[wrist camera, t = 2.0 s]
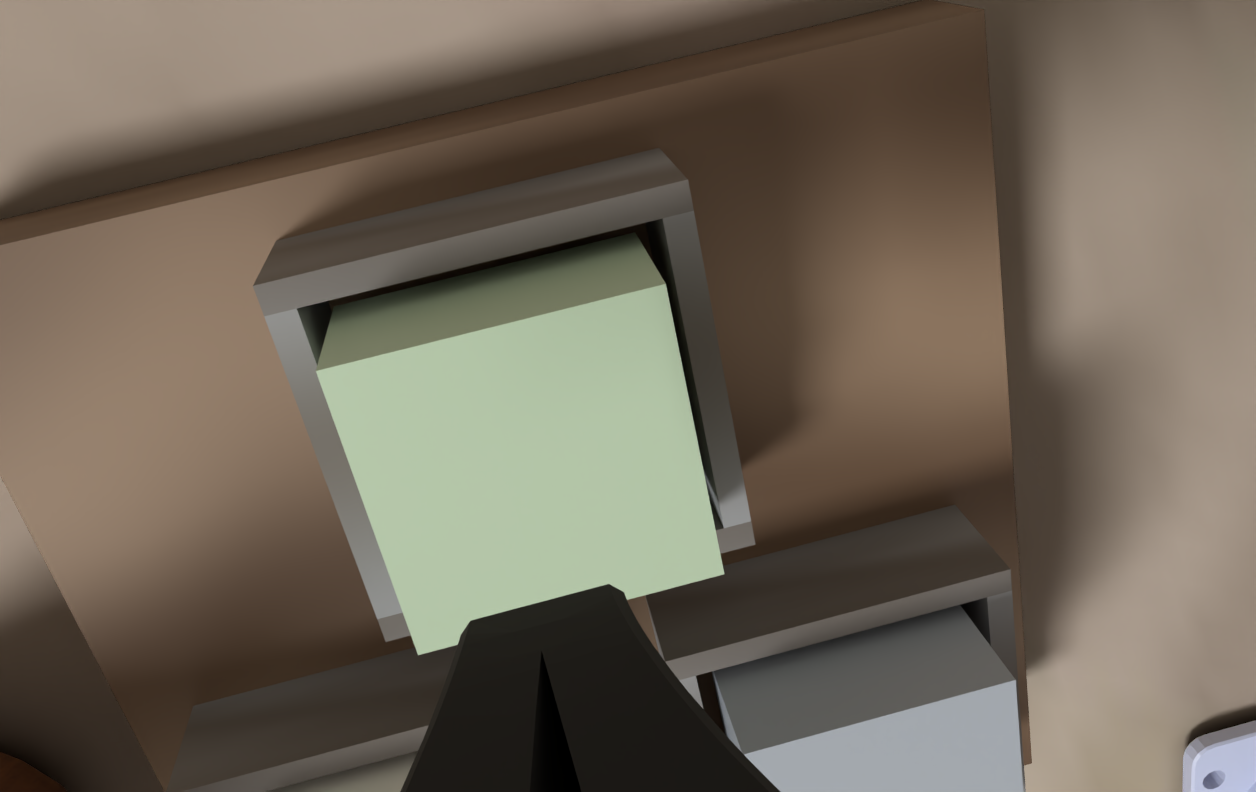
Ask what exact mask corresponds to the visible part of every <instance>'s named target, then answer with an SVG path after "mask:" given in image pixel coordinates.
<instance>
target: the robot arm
mask: <svg viewBox="0 0 1256 792" xmlns="http://www.w3.org/2000/svg"><path fill="white" fill-rule="evenodd" d="M400 792H780V791H779V790H778V789H777V788H776V787H775V786H774V785H773V784H772V783H771V782H770V781H769V780H768V779H767V778H766V777H765V776H764V775H763V774H762V773H761V772H760V771H759V770H758V769H757V768H756V767H755V766H754V765H753V764H752V763H751V762H750V761H749V759H748V758H747V757H746V756H745V755H744V754H743V753H742V752H741V751H740V750H739V749H738V748H737V747H736V746H735V745H734V743H733V742H732V741H731V740H730V739H729V738H728V737H727V736H726V735H725V734H724V733H723V731H722V730H721V729H720V728H719V727H718V726H717V724H716V723H715V722H714V721H713V720H712V719H711V717H710V716H709V715H708V714H707V713H706V712H705V711H704V709H703V708H702V707H701V706H700V705H699V704H698V702H697V701H696V700H695V699H694V698H693V697H692V695H691V694H690V693H689V692H688V691H687V690H686V688H685V687H684V686H683V685H682V683H681V682H680V681H679V679H678V678H677V677H676V676H675V674H674V673H673V672H672V671H671V669H670V668H669V666H668V665H667V664H666V662H665V661H664V660H663V658H662V657H661V655H660V654H659V653H658V651H657V650H656V649H655V647H654V646H653V644H652V643H651V641H650V640H649V638H648V637H647V635H646V634H645V632H644V631H643V629H642V627H641V626H640V624H639V622H638V621H637V619H636V617H635V615H634V613H633V612H632V610H631V608H630V606H629V604H628V601H627V599H626V596H625V593H624V592H623V591H621V590H619V589H617V588H616V587H614V586H612V585H610V584H607V585H603V586H599V587H595V588H591V589H588V590H584V591H580V592H576V593H573V594H569V595H565V596H561V597H558V598H554V599H550V600H546V601H542V602H539V603H535V604H531V605H527V606H524V607H520V608H516V609H512V610H509V611H505V612H501V613H497V614H493V615H490V616H486V617H482V618H478V619H475V620H471V621H470V622H469V623H468V625H467V626H466V628H465V629H464V631H463V632H462V634H461V636H460V639H459V642H458V646H457V649H456V652H455V655H454V658H453V661H452V664H451V667H450V670H449V673H448V675H447V678H446V681H445V684H444V687H443V689H442V692H441V695H440V697H439V700H438V703H437V705H436V708H435V710H434V713H433V716H432V718H431V721H430V723H429V726H428V728H427V731H426V733H425V736H424V738H423V741H422V743H421V745H420V748H419V750H418V752H417V755H416V757H415V759H414V761H413V764H412V766H411V768H410V771H409V773H408V775H407V778H406V780H405V782H404V784H403V787H402V789H401V791H400ZM1183 792H1256V720H1255V721H1251V722H1247V723H1244V724H1240V725H1237V726H1233V727H1230V728H1226V729H1222V730H1219V731H1215V732H1212V733H1208V734H1205V735H1202V736H1200V737H1197V738H1196V739H1194V740H1193V741H1192V742H1191V743H1190V744H1189V745H1188V746H1187V748H1186V749H1185V752H1184V756H1183Z"/></svg>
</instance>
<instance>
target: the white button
mask: <svg viewBox="0 0 1256 792" xmlns="http://www.w3.org/2000/svg"><path fill="white" fill-rule="evenodd" d="M417 752H418V751H415V752H411V753H407V754H404V755H400V756H396V757H393V758H389V759H385V760H381V761H378V762H374V763H370V764H367V765H363V766H359V767H355V768H352V769H348V770H344V771H341V772H337V773H333V774H329V775H326V776H322V777H318V778H315V779H311V780H307V781H303V782H300V783H296V784H292V785H289V786H285V787H281V788H277V789H274V790H270V791H266V792H400V791H401V789H402V787H403V784H404V782H405V780H406V778H407V775H408V773H409V771H410V768H411V766H412V764H413V761H414V759H415V757H416V755H417Z"/></svg>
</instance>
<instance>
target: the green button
mask: <svg viewBox="0 0 1256 792" xmlns="http://www.w3.org/2000/svg"><path fill="white" fill-rule="evenodd" d="M316 373H317V376H318V379H319V382H320V384H321V387H322V390H323V393H324V395H325V398H326V401H327V404H328V407H329V409H330V412H331V415H332V418H333V420H334V423H335V426H336V429H337V432H338V434H339V437H340V440H341V443H342V445H343V448H344V451H345V454H346V456H347V459H348V462H349V465H350V468H351V470H352V473H353V476H354V479H355V481H356V484H357V487H358V490H359V493H360V495H361V498H362V501H363V504H364V506H365V509H366V512H367V515H368V518H369V520H370V523H371V526H372V529H373V531H374V534H375V537H376V540H377V543H378V545H379V548H380V551H381V554H382V556H383V559H384V562H385V565H386V568H387V570H388V573H389V576H390V579H391V581H392V584H393V587H394V590H395V593H396V595H397V598H398V601H399V604H400V606H401V609H402V612H403V615H404V618H405V620H406V623H407V626H408V629H409V631H410V634H411V637H412V640H413V642H414V645H415V648H416V651H417V654H418V655H421V654H425V653H429V652H432V651H436V650H440V649H444V648H448V647H451V646H455V645H458V642H459V639H460V636H461V634H462V632H463V631H464V629H465V628H466V626H467V625H468V623H469V622H470V621H471V620H475V619H478V618H482V617H486V616H490V615H493V614H497V613H501V612H505V611H509V610H512V609H516V608H520V607H524V606H527V605H531V604H535V603H539V602H542V601H546V600H550V599H554V598H558V597H561V596H565V595H569V594H573V593H576V592H580V591H584V590H588V589H591V588H595V587H599V586H603V585H607V584H610V585H612V586H614V587H616V588H617V589H619V590H621V591H623V592H624V593H625V596H626V599H627V600H629V599H633V598H636V597H640V596H644V595H648V594H652V593H655V592H659V591H663V590H667V589H670V588H674V587H678V586H682V585H686V584H689V583H693V582H697V581H701V580H704V579H708V578H712V577H716V576H720V575H723V574H724V569H723V564H722V559H721V555H720V550H719V545H718V540H717V535H716V530H715V525H714V520H713V515H712V510H711V505H710V500H709V495H708V490H707V485H706V480H705V475H704V470H703V466H702V461H701V456H700V451H699V446H698V441H697V436H696V431H695V426H694V421H693V416H692V411H691V406H690V401H689V396H688V391H687V386H686V381H685V376H684V372H683V367H682V362H681V357H680V352H679V347H678V342H677V337H676V332H675V327H674V322H673V317H672V312H671V307H670V302H669V297H668V292H667V287H666V283H665V282H664V280H663V278H662V277H661V275H660V273H659V272H658V270H657V268H656V267H655V265H654V263H653V262H652V260H651V258H650V256H649V255H648V253H647V251H646V250H645V248H644V246H643V245H642V243H641V241H640V240H639V238H638V236H637V235H636V233H635V232H634V233H630V234H626V235H622V236H618V237H614V238H610V239H606V240H602V241H598V242H594V243H590V244H585V245H581V246H577V247H573V248H569V249H565V250H561V251H557V252H553V253H549V254H545V255H541V256H537V257H533V258H529V259H525V260H521V261H517V262H512V263H508V264H504V265H500V266H496V267H492V268H488V269H484V270H480V271H476V272H472V273H468V274H464V275H460V276H456V277H452V278H448V279H444V280H439V281H435V282H431V283H427V284H423V285H419V286H415V287H411V288H407V289H403V290H399V291H395V292H391V293H387V294H383V295H379V296H375V297H371V298H366V299H362V300H358V301H354V302H350V303H346V304H342V305H338V306H334V308H333V312H332V315H331V319H330V322H329V326H328V329H327V333H326V336H325V340H324V344H323V347H322V351H321V354H320V358H319V361H318V365H317V368H316Z"/></svg>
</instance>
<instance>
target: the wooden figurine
mask: <svg viewBox="0 0 1256 792" xmlns="http://www.w3.org/2000/svg"><path fill="white" fill-rule="evenodd" d="M0 792H67V791H66V789H65V788H64V786H62V785H61V784H59V783H58V782H56V781H54V780H53V779H51V778H50V777H48V776H46V775H45V774H43V773H42V772H40V771H38V770H37V769H35V768H34V767H32V766H30V765H29V764H27V763H26V762H24V761H22V760H20V759H17V758H15V757H12V756H10V755H7V754H4V753H2V752H0Z"/></svg>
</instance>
